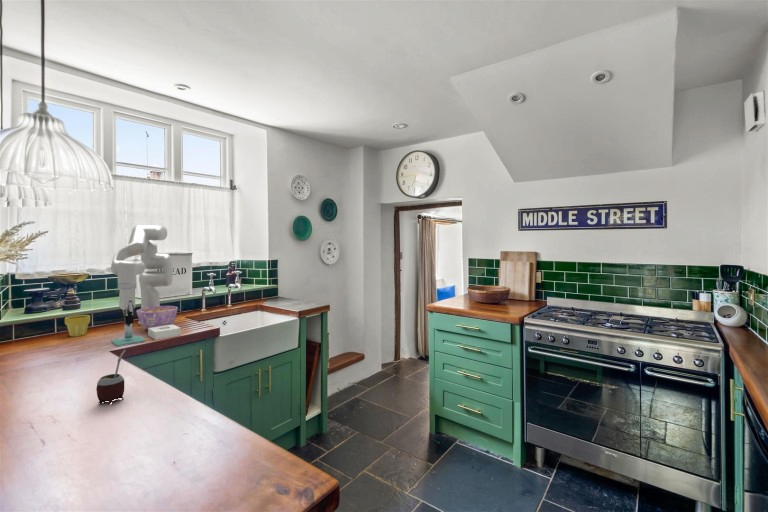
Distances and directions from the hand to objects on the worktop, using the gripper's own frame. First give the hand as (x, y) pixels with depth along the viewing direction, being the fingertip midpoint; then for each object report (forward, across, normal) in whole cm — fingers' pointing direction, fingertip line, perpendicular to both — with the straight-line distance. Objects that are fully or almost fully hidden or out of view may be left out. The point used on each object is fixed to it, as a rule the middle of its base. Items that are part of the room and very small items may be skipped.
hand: (128, 322), depth 180 cm
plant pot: (+10, -34, -15) cm, 38 cm away
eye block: (+10, 0, +16) cm, 19 cm away
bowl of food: (+10, -18, +18) cm, 27 cm away
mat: (+10, 0, 0) cm, 10 cm away
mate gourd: (+10, +75, -21) cm, 79 cm away
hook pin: (+8, 0, 0) cm, 8 cm away
